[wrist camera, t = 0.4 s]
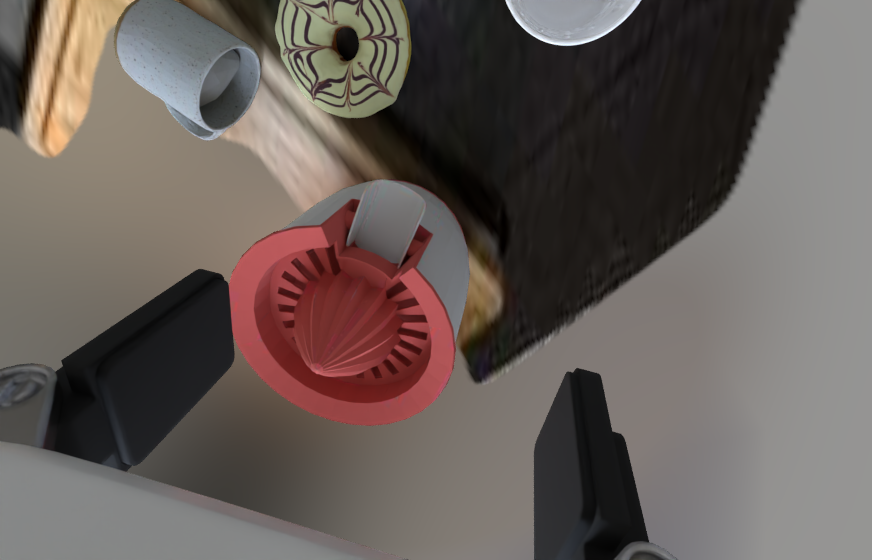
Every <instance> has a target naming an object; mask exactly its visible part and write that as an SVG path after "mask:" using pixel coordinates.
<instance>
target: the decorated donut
mask: <svg viewBox="0 0 872 560" xmlns="http://www.w3.org/2000/svg"><path fill="white" fill-rule="evenodd" d="M343 27H349V28H353V29H354V30H355V31H356V33H357V35H358V40H359V49H358V52H357V54H356V56H355V57H354V58H353V59H352V60H350V61H346V60H344V59H343V56H341V55H340V53H339V52H338V48H337V46H336V45H337V44H336V37H337V33H338V31H340V29H342V28H343ZM275 32H276V37H277V40H278V43H279V45H280V47H281V58H282V60H283V62H284V63H285V65H286V67H287V68H288V70H289V71H290V73H291V76H292V78H293V80H294V81H295V83H296V84H297V86H298V87H299V89H300V90H301V92H302V93H303V94H304V96H305V97H306V98H307V99H309V100H310V101H311V102H312V103H314V104H315V105H316V106H318V107H319V108H321V109H322V110H324V111H325V112H328V113H331V114H334V115H337V116H340V117H346V118H361V117H367V116H370V115H372V114H374V113H376V112H378V111H379V110H382V109H383V108H385V107H387V106H389V105H391V104H393V103H394V102H395V101H396V99H397V96H398V94H399V91H400V89H401V87H402V84H403V81H404V79H405V77H406V74H407V71H408V67H409V63H410V57H411V38H410V25H409V20H408V17H407V12H406V9H405V6H404V4H403V2H402V0H281V1H280V5H279V12H278V18H277V21H276V24H275Z"/></svg>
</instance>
